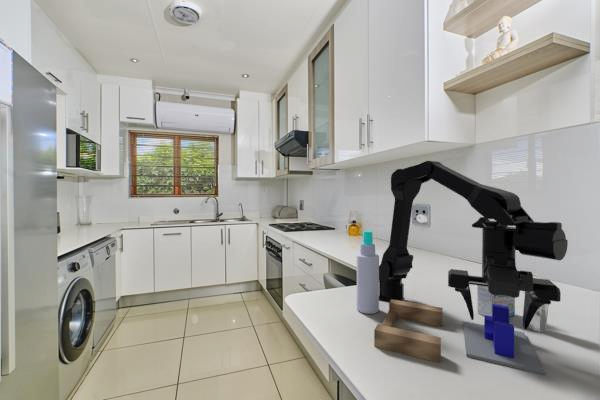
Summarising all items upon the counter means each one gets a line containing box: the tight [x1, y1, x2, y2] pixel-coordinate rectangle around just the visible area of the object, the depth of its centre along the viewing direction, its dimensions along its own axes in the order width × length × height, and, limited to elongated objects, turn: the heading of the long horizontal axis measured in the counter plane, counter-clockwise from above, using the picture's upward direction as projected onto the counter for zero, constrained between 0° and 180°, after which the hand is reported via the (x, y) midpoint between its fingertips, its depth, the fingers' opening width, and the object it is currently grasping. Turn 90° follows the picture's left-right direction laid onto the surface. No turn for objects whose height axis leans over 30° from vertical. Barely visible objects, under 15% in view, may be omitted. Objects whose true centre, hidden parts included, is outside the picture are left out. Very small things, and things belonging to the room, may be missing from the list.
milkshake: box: [523, 291, 550, 333], centre depth 66 cm, size 4×5×10 cm
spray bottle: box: [356, 230, 380, 315], centre depth 77 cm, size 6×6×22 cm
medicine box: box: [476, 285, 516, 318], centre depth 74 cm, size 8×4×9 cm, turn 105°
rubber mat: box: [462, 320, 546, 376], centre depth 59 cm, size 12×16×1 cm
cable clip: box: [483, 304, 515, 359], centre depth 59 cm, size 12×4×6 cm, turn 147°
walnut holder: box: [373, 299, 443, 364], centre depth 64 cm, size 12×20×4 cm, turn 152°
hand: (497, 323), depth 59 cm, fingers open, 9 cm apart
